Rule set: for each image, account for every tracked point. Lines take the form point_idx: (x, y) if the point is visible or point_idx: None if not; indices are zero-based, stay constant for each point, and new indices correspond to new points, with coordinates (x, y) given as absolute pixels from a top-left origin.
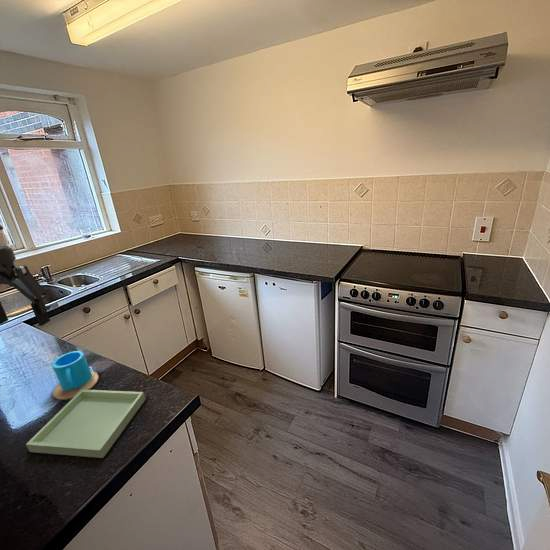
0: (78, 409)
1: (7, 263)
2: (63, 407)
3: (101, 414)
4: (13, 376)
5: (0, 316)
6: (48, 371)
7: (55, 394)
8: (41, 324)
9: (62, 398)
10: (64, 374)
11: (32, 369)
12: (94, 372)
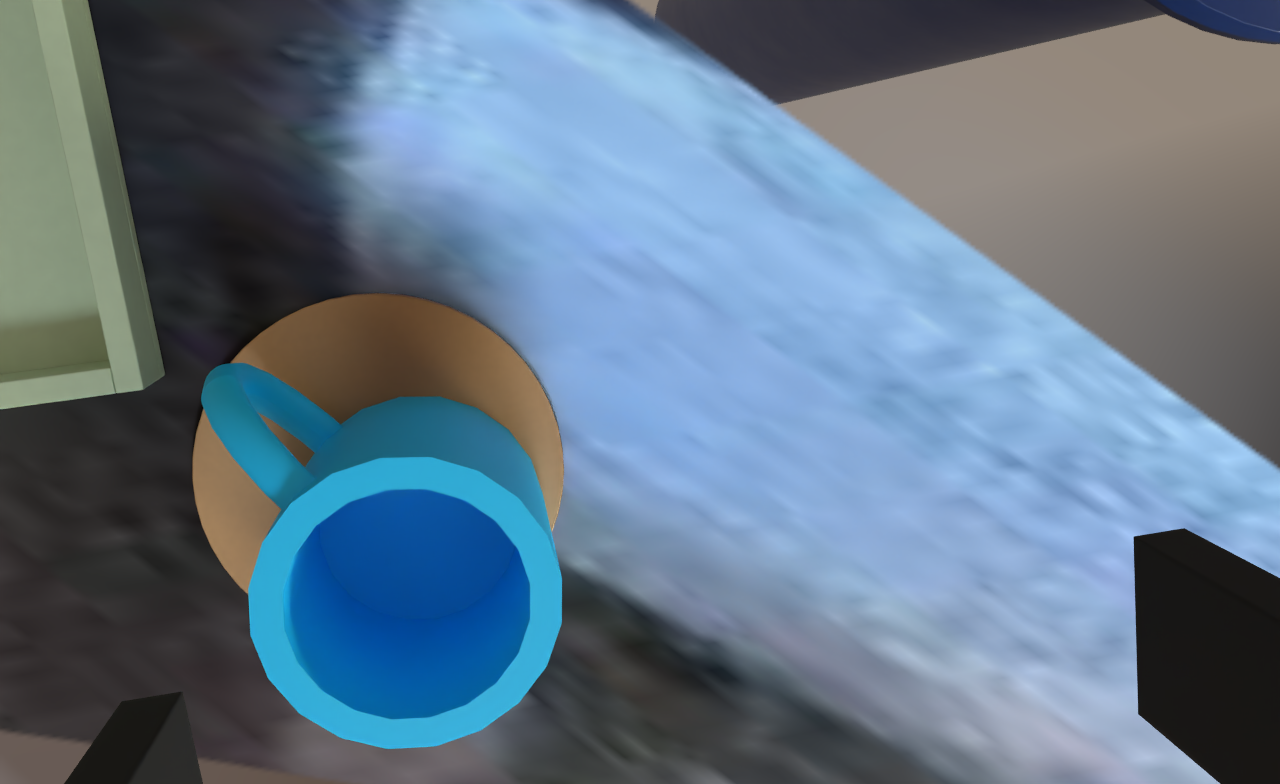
0: (33, 222)
1: None
2: (94, 166)
3: None
4: (1127, 439)
5: (1227, 681)
6: (853, 559)
7: (459, 330)
8: (115, 721)
9: (341, 305)
10: (345, 449)
11: (1039, 547)
12: None
